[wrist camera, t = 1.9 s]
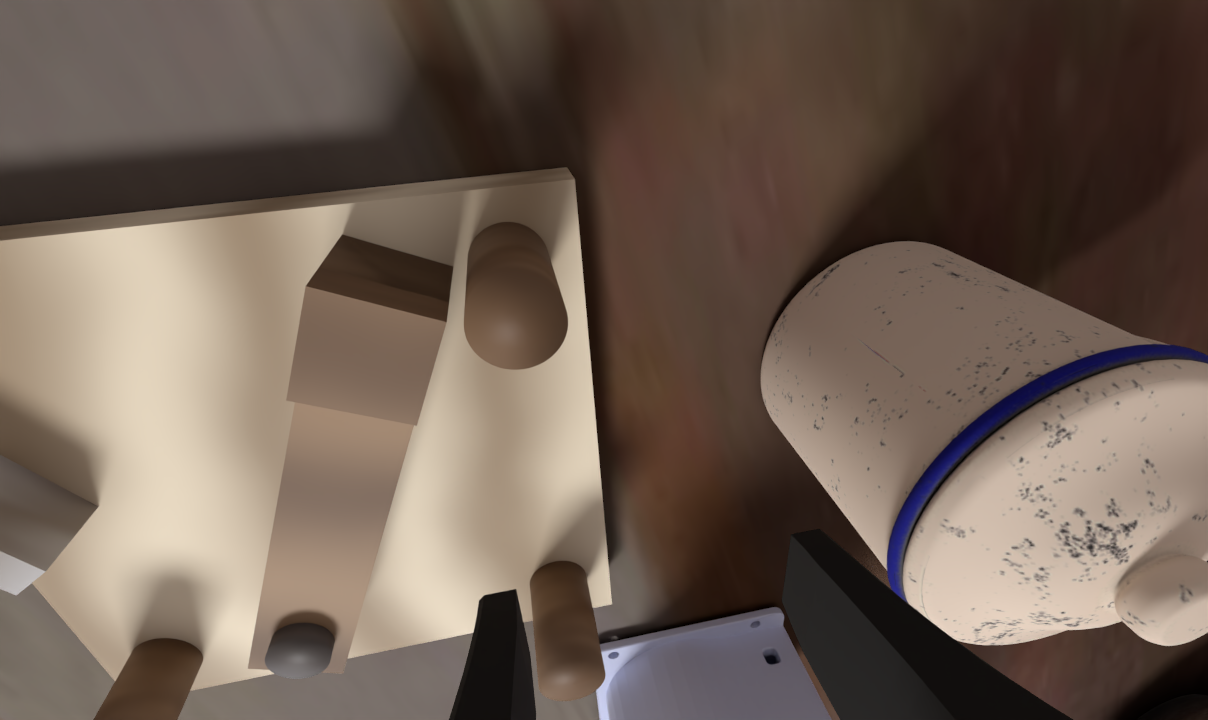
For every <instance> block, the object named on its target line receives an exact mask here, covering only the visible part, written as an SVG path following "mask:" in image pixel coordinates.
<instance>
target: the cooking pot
mask: <svg viewBox="0 0 1208 720" xmlns="http://www.w3.org/2000/svg"><path fill="white" fill-rule="evenodd" d="M1137 720H1208V695H1200V694H1189V695H1184V696H1180V697H1177V698H1174V699H1171V700H1169V701H1167V702H1164V703H1162V704H1160V705H1158V706H1156V707H1154V708H1153V709H1151V710H1149V711H1148V712H1146V713H1145V714H1143V715H1142V716H1141V717H1139V718H1138V719H1137Z"/></svg>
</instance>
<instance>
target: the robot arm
mask: <svg viewBox="0 0 1208 720" xmlns="http://www.w3.org/2000/svg"><path fill="white" fill-rule="evenodd" d="M782 602H783V605H784V607H785V610H786V612H787V615H788V617H789V620H790V622H791V625H792V627H793V630H794V632H795V634H796V636H797V639H798V641H799V643H800V646H801V648H802V650H803V652H804V654H805V656H806V658H807V660H808V662H809V664H810V665H811V667H812V669H813V671H814V673H815V675H816V676H817V678H818V680H819V682H820V684H821V686H822V687H823V689H824V691H825V693H826V695H827V696H828V698H829V700H830V702H831V704H832V705H833V707H834V709H835V711H836V713H837V714H838V716H839V718H840V720H1073V719H1071V718H1070V717H1068V716H1066V715H1065V714H1063V713H1061V712H1060V711H1058V710H1057V709H1055V708H1053V707H1052V706H1050V705H1049V704H1047V703H1046V702H1044V701H1042V700H1041V699H1039V698H1038V697H1036V696H1035V695H1033V694H1032V693H1030V692H1029V691H1027V690H1026V689H1024V688H1023V687H1021V686H1020V685H1018V684H1017V683H1015V682H1014V681H1012V680H1011V679H1009V678H1008V677H1006V676H1005V675H1003V674H1002V673H1000V672H999V671H997V670H996V669H995V668H993V667H992V666H990V665H989V664H988V663H986V662H985V661H983V660H982V659H980V658H979V657H978V656H976V655H975V654H974V653H972V652H971V651H970V650H968V649H967V648H965V647H964V646H963V645H961V644H960V643H959V642H957V641H956V640H955V639H953V638H952V637H951V636H949V635H948V634H947V633H945V632H944V631H943V630H941V629H940V628H939V627H937V626H936V625H935V624H934V623H932V622H931V621H930V620H928V619H927V618H926V617H925V616H923V615H922V614H921V613H920V612H918V611H917V610H916V609H915V608H913V607H912V606H911V605H910V604H908V603H907V602H906V601H905V600H903V599H902V598H901V597H900V596H898V595H897V594H896V593H895V592H894V591H892V590H891V589H890V588H889V587H887V586H886V585H885V584H884V583H883V582H881V581H880V580H879V579H878V578H877V577H876V576H874V575H873V574H872V573H871V572H870V571H868V570H867V569H866V568H865V567H864V566H863V565H861V564H860V563H859V562H858V561H857V560H856V559H854V558H853V557H852V556H851V555H850V554H849V553H847V552H846V551H845V550H844V549H843V548H842V547H840V546H839V545H838V544H837V543H836V542H835V541H833V540H832V539H831V538H830V537H829V536H828V535H826V534H825V533H824V532H823V531H821V530H820V529H816V530H811V531H806V532H801V533H796V534H791V539H790V547H789V554H788V561H787V568H786V575H785V582H784V589H783V596H782ZM783 622H784V614H783V612H782V611H781V609H780V608H777V607H771V608H767V609H762V610H757V611H753V612H748V613H743V614H739V615H734V616H729V617H725V618H720V619H715V620H711V621H706V622H701V623H697V624H692V625H687V626H683V627H678V628H673V629H669V630H664V631H659V632H655V633H650V634H645V635H641V636H636V637H631V638H627V639H622V640H617V641H613V642H608V643H603V644H600V648H601V653H602V658H603V663H604V668H605V680H604V682H603V683H602V685H601V686H600V687H599V688H598V689H597V690H596V694H597V703H598V711H599V719H600V720H831V718H830V716H829V714H828V712H827V710H826V708H825V706H824V704H823V702H822V700H821V698H820V697H819V695H818V693H817V691H816V689H815V687H814V685H813V683H812V681H811V679H810V677H809V675H808V673H807V671H806V669H805V667H804V665H803V663H802V661H801V660H800V658H799V656H798V654H797V652H796V650H795V648H794V646H793V644H792V642H791V640H790V638H789V636H788V634H787V632H786V630H785V628H784V626H783ZM449 720H536V709H535V698H534V688H533V678H532V668H531V658H530V652H529V647H528V642H527V637H526V633H525V628H524V623H523V618H522V614H521V609H520V604H519V600H518V595H517V590H516V589H513V590H508V591H503V592H498V593H493V594H488V595H484V596H483V597H482V598H481V599H480V600H479V604H478V611H477V617H476V622H475V627H474V632H473V637H472V641H471V645H470V649H469V653H468V657H467V661H466V665H465V668H464V672H463V676H462V679H461V682H460V686H459V689H458V692H457V695H456V699H455V702H454V705H453V709H452V712H451V715H450V718H449Z"/></svg>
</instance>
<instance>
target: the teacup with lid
mask: <svg viewBox="0 0 1208 720" xmlns="http://www.w3.org/2000/svg"><path fill="white" fill-rule="evenodd" d="M761 390H762V396H763V400H764V403H765V406H766V409H767V411H768V413H769V415H770V417H771V418H772V420H773V421H774V423H775V424H776V425H777V427H778V428H779V429H780V431H781V432H782V433H783V435H784V436H785V437H786V439H787V440H788V441H789V443H790V444H791V445H792V446H793V448H794V449H795V450H796V452H797V453H798V454H799V456H800V457H801V458H802V460H803V461H804V462H805V464H806V465H807V466H808V467H809V469H810V470H811V471H812V473H813V474H814V475H815V477H816V478H817V479H818V481H819V482H820V483H821V485H822V486H823V487H824V488H825V490H826V491H827V492H828V494H829V495H830V496H831V498H832V499H833V500H834V502H835V503H836V504H837V506H838V507H839V508H840V509H841V511H842V512H843V513H844V515H845V516H846V517H847V519H848V520H849V521H850V523H851V524H852V525H853V527H854V528H855V529H856V530H857V532H858V533H859V534H860V536H861V537H862V538H863V540H864V541H865V542H866V544H867V545H868V546H869V548H870V549H871V550H872V552H873V553H874V554H875V555H876V557H877V558H878V559H879V561H880V562H881V563H882V565H883V566H884V567H885V569H886V570H887V573H888V579H889V582H890V586H891V589H892V591H894V592H895V593H896V594H897V595H898V596H900V597H901V598H902V599H903V600H905V601H906V602H907V603H908V604H910V605H911V606H912V607H913V608H915V609H916V610H917V611H918V612H920V613H921V614H922V615H923V616H925V617H926V618H927V619H928V620H930V621H931V622H932V623H934V624H935V625H936V626H937V627H939V628H940V629H941V630H943V631H944V632H945V633H947V634H948V635H949V636H951V637H952V638H953V639H955V640H958V641H961V642H965V643H971V644H979V645H1006V644H1016V643H1022V642H1027V641H1032V640H1036V639H1040V638H1044V637H1047V636H1051V635H1054V634H1057V633H1060V632H1063V631H1066V630H1081V629H1090V628H1097V627H1103V626H1108V625H1111V624H1115V623H1118V622H1121V621H1123V622H1124V623H1125V624H1126V625H1127V626H1128V627H1129V628H1131V629H1132V630H1133V631H1134V632H1135V633H1136V634H1137V635H1138V636H1140V637H1141V638H1143V639H1145V640H1147V641H1149V642H1152V643H1156V644H1159V645H1165V646H1173V645H1179V644H1183V643H1187V642H1189V641H1192V640H1194V639H1196V638H1199V637H1200V636H1202V635H1204V634H1206V633H1207V632H1208V563H1207V562H1206V561H1207V560H1208V356H1207V355H1205V354H1203V353H1201V352H1198V351H1195V350H1192V349H1190V348H1186V347H1181V346H1175V345H1169V344H1166V343H1162V342H1159V341H1155V340H1151V339H1147V338H1144V337H1139V336H1135V335H1133V334H1130V333H1128V332H1126V331H1124V330H1122V329H1119V328H1117V327H1115V326H1113V325H1111V324H1108V323H1106V322H1104V321H1102V320H1100V319H1097V318H1095V317H1093V316H1091V315H1089V314H1086V313H1084V312H1082V311H1080V310H1078V309H1076V308H1073V307H1071V306H1069V305H1067V304H1065V303H1062V302H1060V301H1058V300H1056V299H1054V298H1051V297H1049V296H1047V295H1045V294H1043V293H1040V292H1038V291H1036V290H1034V289H1032V288H1029V287H1027V286H1025V285H1023V284H1021V283H1019V282H1016V281H1014V280H1012V279H1010V278H1008V277H1005V276H1003V275H1001V274H999V273H997V272H994V271H992V270H990V269H988V268H986V267H983V266H981V265H979V264H977V263H975V262H972V261H970V260H968V259H966V258H964V257H961V256H959V255H957V254H955V253H953V252H951V251H948V250H946V249H944V248H941V247H938V246H936V245H932V244H928V243H923V242H914V241H899V242H890V243H884V244H879V245H875V246H871V247H868V248H865V249H862V250H860V251H857V252H855V253H852V254H850V255H848V256H846V257H844V258H842V259H840V260H839V261H837V262H835V263H834V264H832V265H830V266H829V267H827V268H826V269H825V270H823V271H822V272H821V273H819V274H818V275H817V276H816V277H814V278H813V279H812V280H811V281H810V282H808V283H807V284H806V285H805V286H804V287H803V288H802V289H801V290H800V291H799V292H798V294H797V295H796V296H795V297H794V298H793V299H792V300H791V302H790V303H789V304H788V306H787V307H786V308H785V310H784V311H783V313H782V314H781V316H780V317H779V319H778V321H777V322H776V324H775V326H774V328H773V330H772V332H771V334H770V337H769V339H768V341H767V344H766V348H765V351H764V355H763V359H762V365H761Z"/></svg>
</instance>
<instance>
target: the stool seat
mask: <svg viewBox="0 0 1208 720" xmlns="http://www.w3.org/2000/svg"><path fill="white" fill-rule="evenodd" d="M341 235H346V236H349V237H353V238H356V239H360V240H363V241H367V242H370V243H374V244H377V245H381V246H384V247H388V248H391V249H394V250H398V251H401V252H405V253H408V254H412V255H415V256H419V257H422V258H426V259H429V260H433V261H436V262H440V263H443V264H446V265H450V266H453V274H452V283H451V291H450V299H449V308H448V316H447V323H446V327H445V330H444V333H443V337H442V340H441V344H440V347H439V351H438V354H437V358H436V361H435V365H434V368H433V372H432V375H431V379H430V382H429V386H428V389H427V392H426V396H425V399H424V403H423V406H422V410H421V413H420V417H419V420H418V424H417V426H415V425H414V427H413V430H412V434H411V437H410V441H409V444H408V448H407V452H406V455H405V459H404V462H403V466H402V469H401V473H400V476H399V480H398V483H397V487H396V490H395V494H394V497H393V501H392V504H391V508H390V511H389V515H388V518H387V522H386V525H385V529H384V532H383V536H382V539H381V543H380V546H379V550H378V553H377V557H376V560H375V564H374V567H373V571H372V574H371V578H370V581H369V585H368V588H367V592H366V595H365V599H364V602H363V606H362V609H361V613H360V616H359V620H358V623H357V627H356V630H355V634H354V637H353V641H352V644H351V648H350V651H349V655H348V658H353V657H357V656H362V655H367V654H372V653H377V652H382V651H387V650H391V649H396V648H401V647H406V646H411V645H416V644H421V643H425V642H430V641H435V640H440V639H445V638H450V637H455V636H460V635H464V634H469V633H473V632H474V627H475V622H476V617H477V611H478V604H479V600H480V599H481V598H482V597H483V596H484V595H488V594H493V593H498V592H503V591H508V590H513V589H516V590H517V595H518V600H519V604H520V609H521V614H522V618H523V622H528V621H532V620H533V627H534V638H535V650H536V661H537V672H538V683H539V690H540V692H541V693H542V694H543V695H544V696H545V697H547V698H549V699H552V700H556V701H571V700H576V699H580V698H583V697H585V696H588V695H589V694H591V693H593V692H594V691H596V690H597V689H598V688H599V687H600V686H601V685H602V683H603V682H604V680H605V668H604V663H603V658H602V653H601V648H600V643H599V638H598V633H597V628H596V622H595V617H594V612H593V608H596V607H601V606H605V605H610V604H612V600H611V589H610V577H609V566H608V554H607V543H606V531H605V520H604V508H603V497H602V485H601V474H600V462H599V451H598V439H597V428H596V416H595V405H594V393H593V382H592V370H591V359H590V347H589V336H588V324H587V313H586V301H585V290H584V278H583V267H582V255H581V244H580V232H579V221H578V209H577V198H576V186H575V179H574V177H573V176H572V174H571V173H570V171H569V170H568V168H567V167H563V168H554V169H544V170H535V171H525V172H516V173H506V174H496V175H487V176H477V177H468V178H458V179H448V180H439V181H429V182H420V183H410V184H401V185H391V186H381V187H372V188H362V189H353V190H343V191H333V192H324V193H314V194H305V195H295V196H286V197H276V198H266V199H257V200H247V201H238V202H228V203H218V204H209V205H199V206H190V207H180V208H170V209H161V210H151V211H142V212H132V213H123V214H113V215H103V216H94V217H84V218H75V219H65V220H55V221H46V222H36V223H27V224H17V225H8V226H0V589H2V590H4V591H7V592H9V593H12V594H14V595H17V594H19V593H20V592H21V591H22V590H23V589H25V588H26V587H27V586H28V585H30V584H31V583H33V585H34V586H35V587H36V588H37V589H38V591H39V592H40V593H41V594H42V595H43V597H44V598H45V599H46V600H47V601H48V602H49V604H50V605H51V606H52V607H53V608H54V610H55V611H56V612H57V613H58V614H59V615H60V617H61V618H62V619H63V620H64V621H65V623H66V624H67V625H68V626H69V627H70V628H71V630H72V631H73V632H74V633H75V634H76V636H77V637H78V638H79V639H80V640H81V641H82V643H83V644H84V645H85V646H86V647H87V649H88V650H89V651H90V652H91V653H92V654H93V656H94V657H95V658H96V659H97V660H98V662H99V663H100V664H101V665H102V666H103V667H104V669H105V670H106V671H107V672H108V673H109V675H110V676H111V677H112V678H113V679H114V680H115V683H114V684H113V686H112V688H111V690H110V692H109V693H108V695H107V697H106V699H105V700H104V702H103V704H102V706H101V707H100V709H99V711H98V713H97V714H96V716H95V718H94V720H177V719H178V717H179V714H180V712H181V710H182V708H183V705H184V703H185V701H186V699H187V696H188V694H189V692H190V691H192V690H197V689H202V688H207V687H212V686H216V685H221V684H226V683H231V682H236V681H241V680H246V679H250V678H255V677H260V676H265V675H270V674H274V673H273V672H271V671H270V670H262V669H248V663H249V658H250V652H251V647H252V641H253V635H254V630H255V624H256V618H257V613H258V607H259V602H260V596H261V590H262V585H263V579H264V573H265V568H266V562H267V557H268V551H269V545H270V540H271V534H272V529H273V523H274V517H275V512H276V506H277V500H278V495H279V489H280V484H281V478H282V472H283V467H284V461H285V455H286V450H287V444H288V439H289V433H290V427H291V422H292V416H293V410H294V405H295V402H291V401H286V398H287V393H288V387H289V381H290V375H291V369H292V363H293V357H294V351H295V345H296V340H297V334H298V328H299V322H300V316H301V310H302V304H303V298H304V293H305V287H306V285H307V283H308V282H309V281H310V279H311V278H312V276H313V275H314V274H315V272H316V271H317V269H318V268H319V266H320V265H321V264H322V262H323V261H324V259H325V258H326V257H327V255H328V254H329V252H330V251H331V249H332V248H333V247H334V245H335V244H336V242H337V241H338V240H339V238H340V237H341ZM348 658H347V659H348Z"/></svg>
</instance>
